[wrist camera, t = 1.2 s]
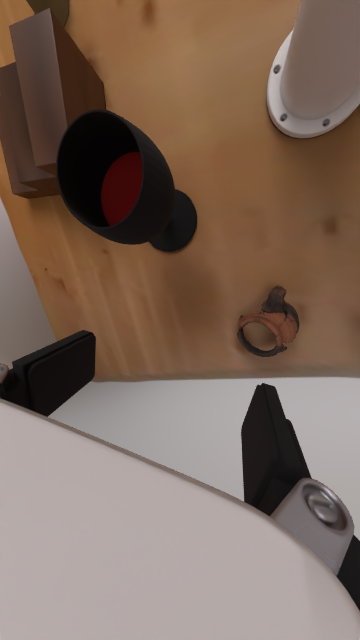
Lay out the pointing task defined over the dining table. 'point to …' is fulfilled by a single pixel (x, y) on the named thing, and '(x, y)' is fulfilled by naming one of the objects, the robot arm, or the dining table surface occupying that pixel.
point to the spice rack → (42, 101)
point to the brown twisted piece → (272, 322)
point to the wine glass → (121, 183)
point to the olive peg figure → (52, 8)
